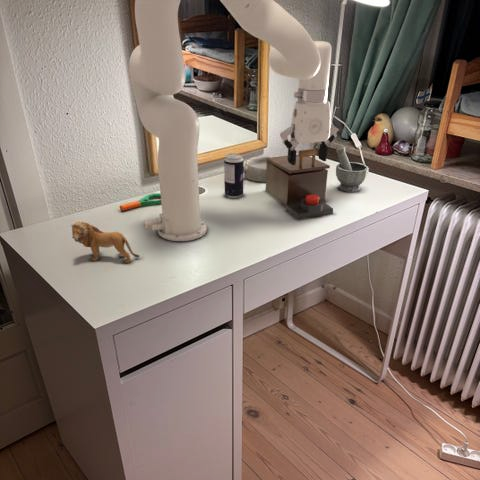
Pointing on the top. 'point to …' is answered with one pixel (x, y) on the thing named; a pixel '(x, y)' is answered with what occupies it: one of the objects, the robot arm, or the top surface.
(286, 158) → the wooden box lid
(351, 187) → the mortar and pestle
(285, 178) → the brown open box
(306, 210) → the control block
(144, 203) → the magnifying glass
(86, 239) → the lion figurine
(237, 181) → the beverage can
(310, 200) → the button
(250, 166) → the dish
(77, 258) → the top surface
